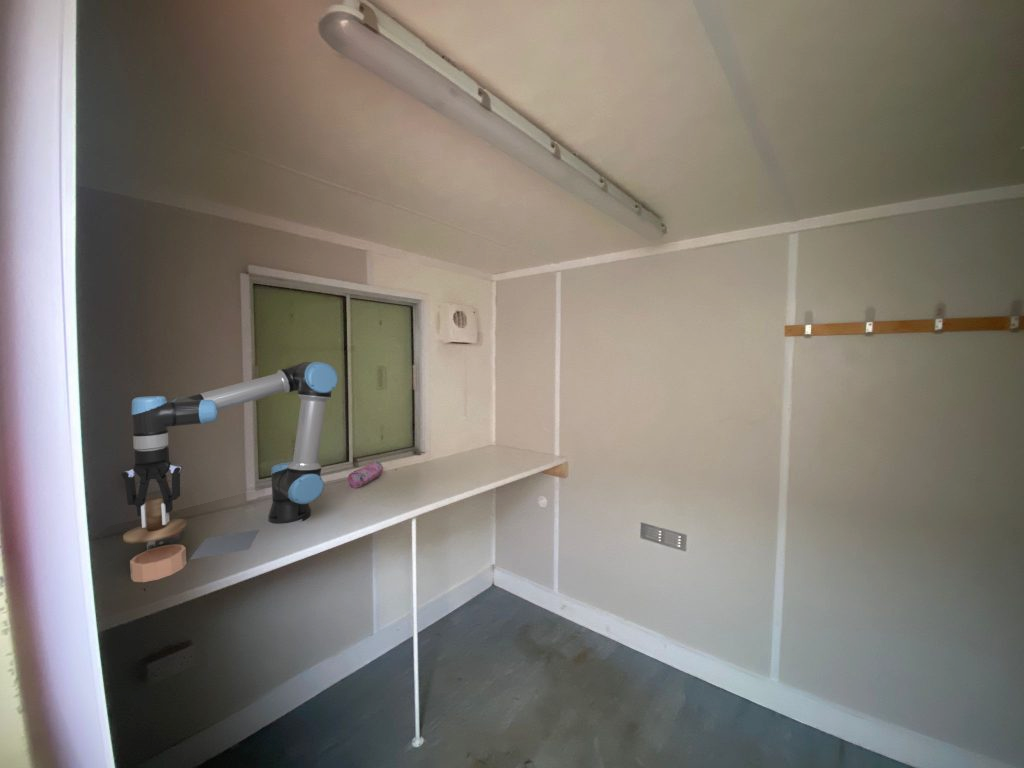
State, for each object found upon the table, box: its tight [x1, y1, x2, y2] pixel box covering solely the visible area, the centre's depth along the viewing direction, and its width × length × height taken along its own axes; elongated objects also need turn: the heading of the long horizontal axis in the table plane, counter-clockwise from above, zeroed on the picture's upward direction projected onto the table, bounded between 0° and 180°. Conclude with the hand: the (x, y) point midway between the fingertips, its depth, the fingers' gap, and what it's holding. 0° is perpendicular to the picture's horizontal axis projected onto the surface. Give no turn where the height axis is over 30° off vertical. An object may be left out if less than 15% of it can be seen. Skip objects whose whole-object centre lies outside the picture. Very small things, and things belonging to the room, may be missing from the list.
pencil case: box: [347, 460, 384, 489], centre depth 199 cm, size 21×9×9 cm, turn 167°
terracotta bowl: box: [129, 543, 187, 583], centre depth 114 cm, size 12×12×6 cm
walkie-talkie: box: [146, 531, 183, 551], centre depth 133 cm, size 9×4×20 cm
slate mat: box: [188, 529, 259, 561], centre depth 131 cm, size 16×16×1 cm
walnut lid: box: [122, 496, 188, 544], centre depth 113 cm, size 14×14×10 cm
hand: (156, 524), depth 114 cm, fingers closed on walnut lid, 4 cm apart
